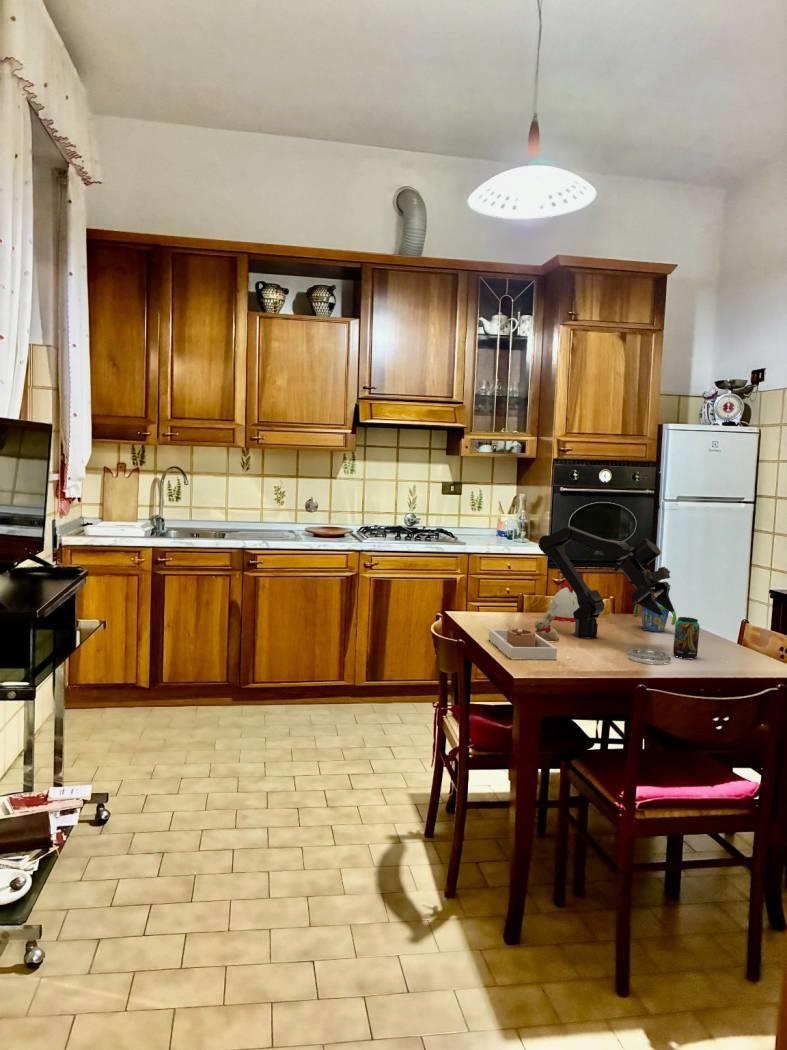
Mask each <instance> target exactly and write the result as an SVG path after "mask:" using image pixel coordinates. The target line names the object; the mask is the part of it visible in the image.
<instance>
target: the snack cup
mask: <svg viewBox="0 0 787 1050" xmlns="http://www.w3.org/2000/svg"><path fill="white" fill-rule="evenodd" d="M656 603H657V602H656ZM657 604H658V606H659V608H660V609H661V611H662V613H663V614H662V615H661V616H659V615H658V614H656V613H654V612H652V611H650V610H649V609H647V608H645V607H643V606H641V605H639V604H637V603H635V606H634V609H633V616H634V618H638V617H639V607H640V608H641V622H642V623H641V625H642V629H643V630H644V631H649V632H653V633H655V632H656V633H660V632H661V633H663V632H664V631H665V630H666V625H667V622H668V618H669V613H671V615H672V620H671V625H672V626H674V625H675V623H676V622H677V613H676V611H675V609H674V611H673V612H670V611H669V610H667V609H666V608H664V607H663V606H662V605H660V604H659V603H657Z"/></svg>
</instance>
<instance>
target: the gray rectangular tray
mask: <svg viewBox="0 0 787 1050" xmlns="http://www.w3.org/2000/svg"><path fill="white" fill-rule="evenodd" d="M507 630H508V629H489V630H488V641H489V640H490V641H491V642H492V643H494V644H495V645H496V646H497V647H498V648H500V649H501V650H502V651H503V652H504V653H505V654H507V655H508V656H509V657H510V658H518V659H519V658H522V659H523V658H525V659H537V658H538V659H556V660H557V658H558V655H557V654H558V648H557V647H556V646H554V644H552V643H551V642H547V641H546V640H544V639H543V638H541V637H540V636H538V635H537V634H536V632H535V646H536V647H513V646H512V645H511V644H509V643H508V642H507V641H506V640H507ZM518 631H521V632H522V629H518ZM490 641H489V642H490ZM491 642H490V643H491ZM492 643H491V644H492ZM495 645H494V646H495ZM496 646H495V647H496ZM497 647H496V648H497ZM498 648H497V649H498ZM503 652H502V653H503ZM504 653H503V654H504ZM505 654H504V655H505Z"/></svg>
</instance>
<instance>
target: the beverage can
mask: <svg viewBox="0 0 787 1050" xmlns="http://www.w3.org/2000/svg"><path fill="white" fill-rule="evenodd" d="M698 621H699V620H698V618H693V617H689V616H679V617H677V620H676V623H675V624H674V625H675V626H674V639H673V649H672V653H673V655H674V656H675V657H676V656H678V657H682V658H681V659H683V658H695V659H696V658H697V657H698V652H699V651H698V650H699V637H700V628H701V626H700V624H699V622H698ZM678 657H677V658H678Z"/></svg>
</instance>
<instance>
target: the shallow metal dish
mask: <svg viewBox="0 0 787 1050" xmlns="http://www.w3.org/2000/svg"><path fill="white" fill-rule="evenodd" d="M627 657H628V658H629V659H628V658H627V659H628V660H630V659H631V660H630V661H632V660H633V661H632V662H635V661H637V662H636V663H639V662H642V663H641V664H643V663H653V664H664V663H669V662H670V663H671V660H672V658H671V656H670V654H669V653H666V652H665V651H663V650H662V651H661V650H658V649H652V648H631V649H630V650H629V651H628V652H627ZM670 663H669V664H670Z"/></svg>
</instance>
